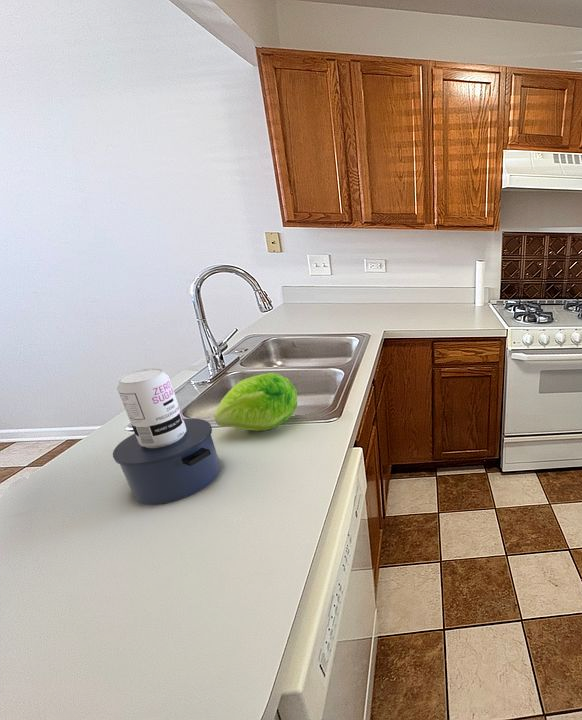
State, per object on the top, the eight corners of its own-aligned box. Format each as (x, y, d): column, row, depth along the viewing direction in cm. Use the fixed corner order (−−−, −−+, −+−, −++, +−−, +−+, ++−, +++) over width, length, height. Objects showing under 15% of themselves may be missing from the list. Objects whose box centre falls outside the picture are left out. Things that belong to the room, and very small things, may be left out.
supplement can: (147, 433, 87) (123, 371, 81) (191, 425, 90) (171, 364, 84) (134, 453, 80) (107, 387, 74) (182, 444, 83) (160, 379, 77)
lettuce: (226, 431, 111) (205, 382, 106) (300, 406, 121) (284, 360, 116) (226, 455, 98) (202, 401, 93) (310, 424, 107) (292, 373, 102)
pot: (107, 493, 85) (88, 451, 81) (185, 449, 100) (173, 412, 96) (171, 517, 78) (153, 473, 74) (245, 466, 93) (234, 427, 89)
